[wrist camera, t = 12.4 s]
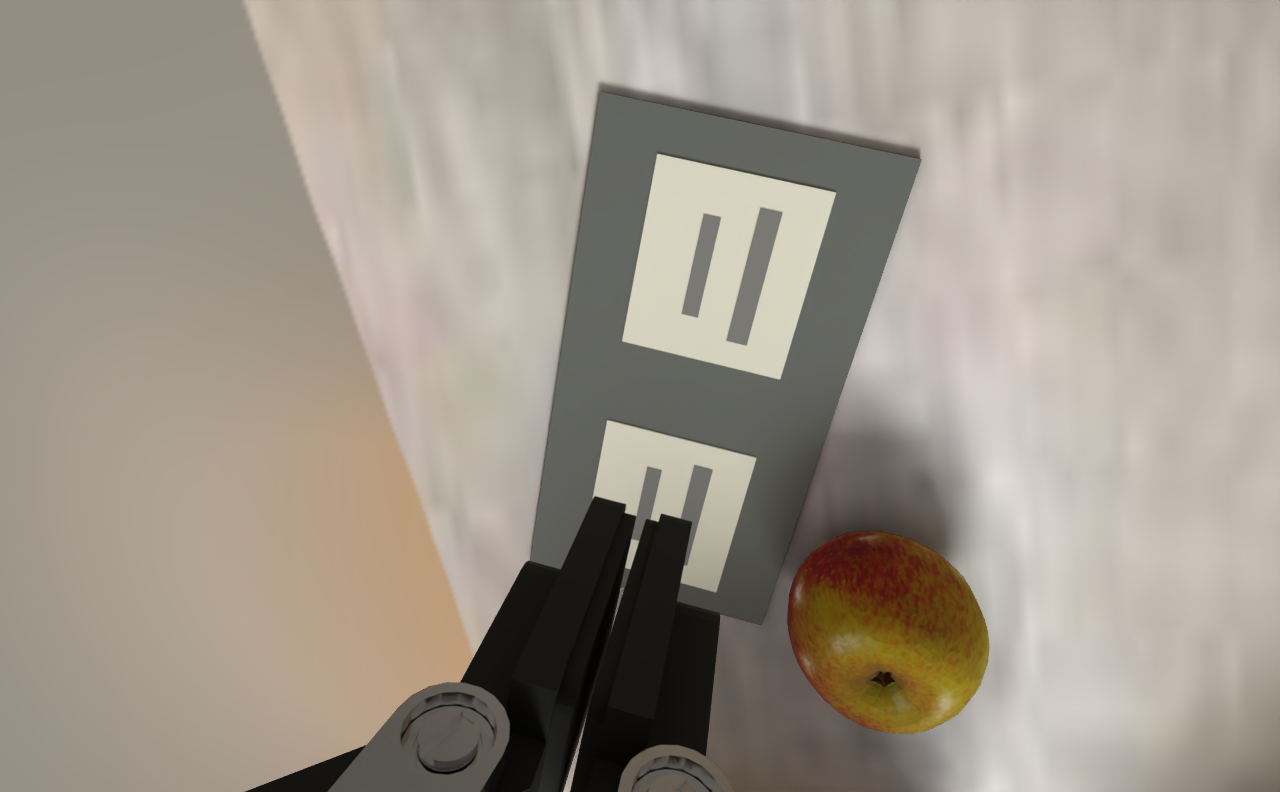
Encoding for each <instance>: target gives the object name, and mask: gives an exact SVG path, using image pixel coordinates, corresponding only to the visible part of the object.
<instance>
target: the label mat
mask: <svg viewBox="0 0 1280 792" xmlns="http://www.w3.org/2000/svg"><path fill="white" fill-rule="evenodd" d="M921 160H922V159H918V158H914V157H909V156H904V155H899V154H895V153H890V152H885V151H880V150H876V149H871V148H866V147H861V146H857V145H852V144H847V143H842V142H838V141H833V140H828V139H824V138H819V137H814V136H809V135H805V134H800V133H795V132H790V131H786V130H781V129H776V128H771V127H767V126H762V125H757V124H752V123H748V122H743V121H738V120H733V119H729V118H724V117H719V116H714V115H710V114H705V113H700V112H695V111H691V110H686V109H681V108H677V107H672V106H667V105H662V104H658V103H653V102H648V101H643V100H639V99H634V98H629V97H624V96H620V95H615V94H610V93H605V92H600V94H599V101H598V107H597V114H596V121H595V128H594V134H593V141H592V148H591V154H590V161H589V168H588V175H587V181H586V188H585V195H584V201H583V208H582V215H581V222H580V228H579V235H578V242H577V248H576V255H575V262H574V269H573V275H572V282H571V289H570V296H569V302H568V309H567V316H566V322H565V329H564V336H563V343H562V349H561V356H560V363H559V369H558V376H557V383H556V390H555V396H554V403H553V410H552V416H551V423H550V430H549V437H548V443H547V450H546V457H545V464H544V470H543V477H542V484H541V490H540V497H539V504H538V511H537V517H536V524H535V531H534V537H533V544H532V551H531V558H530V561H532V562H536V563H539V564H543V565H547V566H550V567H554V568H557V569H561V568H562V566H563V563H564V561H565V559H566V557H567V555H568V552H569V550H570V548H571V546H572V544H573V541H574V539H575V537H576V535H577V533H578V531H579V528H580V526H581V524H582V522H583V520H584V517H585V515H586V513H587V511H588V509H589V506H590V504H591V502H592V500H593V498H594V497H595V496H597V497H601V498H605V499H608V500H612V501H616V502H620V503H624V504H626V510H625V513H627V514H631V515H635V516H636V521H635V526H634V530H633V535H632V539H631V544H630V548H629V552H628V557H627V561H626V566H625V570H624V575H623V579H622V584H621V587H624V588H625V586H626V582H627V579H628V576H629V573H630V569H631V566H632V563H633V560H634V556H635V553H636V550H637V547H638V543H639V540H640V537H641V534H642V530H643V527H644V524H645V521H646V519H650V520H654V521H657V522H659V518H660V515H661V513H662V514H665V515H669V516H673V517H677V518H681V519H684V520H688V521H692V527H691V532H690V537H689V542H688V547H687V552H686V557H685V563H684V568H683V573H682V578H681V583H680V588H679V593H678V598H677V601H678V602H681V603H685V604H689V605H692V606H696V607H700V608H703V609H707V610H711V611H714V612H718V613H720V614H722V615H726V616H729V617H733V618H737V619H740V620H744V621H747V622H751V623H755V624H758V625H761V624H762V621H763V619H764V616H765V613H766V610H767V607H768V604H769V601H770V598H771V595H772V592H773V590H774V587H775V584H776V581H777V578H778V575H779V572H780V569H781V566H782V563H783V560H784V558H785V555H786V552H787V549H788V546H789V543H790V540H791V537H792V534H793V531H794V529H795V526H796V523H797V520H798V517H799V514H800V511H801V508H802V505H803V502H804V500H805V497H806V494H807V491H808V488H809V485H810V482H811V479H812V476H813V473H814V471H815V468H816V465H817V462H818V459H819V456H820V453H821V450H822V447H823V444H824V441H825V439H826V436H827V433H828V430H829V427H830V424H831V421H832V418H833V415H834V412H835V410H836V407H837V404H838V401H839V398H840V395H841V392H842V389H843V386H844V383H845V381H846V378H847V375H848V372H849V369H850V366H851V363H852V360H853V357H854V354H855V352H856V349H857V346H858V343H859V340H860V337H861V334H862V331H863V328H864V325H865V323H866V320H867V317H868V314H869V311H870V308H871V305H872V302H873V299H874V296H875V293H876V291H877V288H878V285H879V282H880V279H881V276H882V273H883V270H884V267H885V264H886V262H887V259H888V256H889V253H890V250H891V247H892V244H893V241H894V238H895V235H896V233H897V230H898V227H899V224H900V221H901V218H902V215H903V212H904V209H905V206H906V204H907V201H908V198H909V195H910V192H911V189H912V186H913V183H914V180H915V177H916V174H917V172H918V169H919V166H920V163H921Z"/></svg>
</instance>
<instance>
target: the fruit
mask: <svg viewBox="0 0 1280 792" xmlns="http://www.w3.org/2000/svg"><path fill="white" fill-rule="evenodd" d="M787 624H788V631H789V636H790V640H791V644H792V647H793V651H794V654H795V657H796V659H797V662H798V664H799V666H800V668H801V669H802V671H803V673H804V674H805V676H806V677H807V679H808V680H809V682H810V683H811V684H812V686H813V687H814V688H815V689H816V691H817V692H818V693H819V694H820V695H821V696H822V697H823V699H824V700H825V701H826V702H827V703H829V704H830V705H831V706H832V707H833V708H834V709H835V710H837V711H838V712H840V713H841V714H842V715H844V716H845V717H847V718H848V719H850V720H852V721H854V722H856V723H858V724H860V725H862V726H865V727H868V728H871V729H874V730H877V731H883V732H889V733H917V732H922V731H927V730H929V729H931V728H934V727H936V726H938V725H940V724H942V723H944V722H945V721H947V720H949V719H951V718H952V717H954V716H956V715H957V714H958V713H959V712H960V711H961V710H962V709H963V708H964V707H965V706H966V704H967V703H968V702H969V701H970V699H971V698H972V697H973V695H974V694H975V693H976V691H977V690H978V688H979V686H980V685H981V682H982V679H983V676H984V672H985V669H986V666H987V663H988V655H989V639H988V631H987V627H986V623H985V619H984V617H983V614H982V612H981V609H980V607H979V605H978V603H977V601H976V599H975V597H974V595H973V593H972V591H971V589H970V587H969V585H968V584H967V582H966V580H965V579H964V577H963V576H962V575H961V574H960V573H959V572H958V571H957V570H956V569H955V568H954V567H953V566H952V565H951V564H950V563H949V562H948V561H946V560H945V559H944V558H943V557H941V556H940V555H939V554H937V553H936V552H934V551H933V550H931V549H929V548H927V547H925V546H923V545H921V544H919V543H917V542H915V541H913V540H911V539H908V538H905V537H901V536H897V535H894V534H889V533H883V532H872V531H861V532H851V533H846V534H843V535H840V536H838V537H835V538H833V539H831V540H829V541H827V542H825V543H823V544H822V545H821V546H819V547H818V548H817V549H815V550H814V551H813V552H812V553H811V554H810V555H809V556H808V557H807V559H806V560H805V561H804V563H803V564H802V565H801V567H800V568H799V570H798V572H797V574H796V576H795V578H794V580H793V584H792V587H791V590H790V594H789V603H788V618H787Z"/></svg>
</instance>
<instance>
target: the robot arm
mask: <svg viewBox="0 0 1280 792" xmlns="http://www.w3.org/2000/svg"><path fill="white" fill-rule="evenodd" d="M625 510H626V504H624V503H620V502H616V501H612V500H608V499H605V498H601V497H597V496H595V497H594V498H593V500H592V502H591V504H590V506H589V509H588V511H587V513H586V515H585V517H584V520H583V522H582V524H581V526H580V528H579V531H578V533H577V535H576V537H575V539H574V541H573V544H572V546H571V548H570V550H569V552H568V555H567V557H566V559H565V561H564V563H563V566H562V568H561V569H557V568H554V567H550V566H547V565H543V564H539V563H536V562H532V561H527V562H526V563H525V564H524V566H523V567H522V569H521V571H520V573H519V575H518V576H517V578H516V580H515V582H514V584H513V586H512V588H511V589H510V591H509V593H508V595H507V597H506V599H505V600H504V602H503V604H502V606H501V608H500V610H499V612H498V613H497V615H496V617H495V619H494V621H493V623H492V625H491V626H490V628H489V630H488V632H487V634H486V636H485V637H484V639H483V641H482V643H481V645H480V647H479V649H478V650H477V652H476V654H475V656H474V658H473V660H472V662H471V663H470V665H469V667H468V669H467V671H466V673H465V674H464V676H463V678H462V680H461V682H460V683H451V682H450V683H449V682H447V683H442V684H438V685H433V686H429V687H427V688H425V689H423V690H421V691H419V692H417V693H415V694H413V695H412V696H411V697H409V698H408V699H407V700H406V701H405V702H404V703H403V704H402V705H400V706H399V707H398V708H397V710H396V711H395V712H394V713H393V715H392V716H391V717H390V718H389V719H388V720H387V722H386V723H385V724H384V725H383V726H382V728H381V729H380V730H379V731H378V732H377V733H376V735H375V736H374V737H373V738H372V739H371V741H370V742H369V743H368V744H367V745H365V746H363V747H360V748H358V749H355V750H352V751H350V752H347V753H344V754H342V755H339V756H337V757H334V758H332V759H329V760H326V761H324V762H321V763H318V764H316V765H314V766H311V767H308V768H305V769H303V770H300V771H298V772H295V773H293V774H290V775H287V776H285V777H282V778H279V779H277V780H274V781H271V782H269V783H266V784H264V785H261V786H259V787H256V788H253V789H251V790H248V791H245V792H563V790H564V787H565V784H566V781H567V777H568V774H569V771H570V768H571V764H572V761H573V758H574V755H575V751H576V748H577V745H578V741H579V738H580V735H581V732H582V728H583V725H584V722H585V719H586V722H585V726H584V731H583V736H582V740H581V745H580V749H579V754H578V759H577V763H576V768H575V772H574V777H573V782H572V786H571V791H570V792H735V791H734V789H733V787H732V786H731V784H730V782H729V780H728V779H727V777H726V775H725V774H724V773H723V772H722V771H721V770H720V769H719V768H718V766H717V765H716V764H715V763H714V762H713V761H712V760H710V759H709V758H707V757H706V749H707V739H708V730H709V720H710V711H711V701H712V692H713V682H714V673H715V663H716V654H717V644H718V635H719V625H720V613H718V612H714V611H711V610H707V609H703V608H700V607H696V606H692V605H689V604H685V603H681V602H678V601H677V598H678V593H679V588H680V583H681V578H682V573H683V568H684V563H685V557H686V552H687V547H688V542H689V537H690V532H691V527H692V521H688V520H684V519H681V518H677V517H673V516H669V515H665V514H662V513H661V515H660V518H659V522H657V521H654V520H650V519H646V521H645V524H644V527H643V530H642V534H641V537H640V540H639V543H638V547H637V550H636V553H635V556H634V560H633V563H632V566H631V569H630V573H629V576H628V579H627V582H626V586H625V589H624V592H623V595H622V599H621V602H620V605H619V608H618V612H617V615H616V618H615V621H614V625H613V628H612V624H613V620H614V615H615V611H616V606H617V602H618V597H619V593H620V588H621V584H622V579H623V575H624V570H625V566H626V561H627V557H628V552H629V548H630V544H631V539H632V535H633V530H634V526H635V521H636V516H635V515H631V514H627V513H625ZM611 629H612V631H611ZM610 633H611V634H610ZM587 712H588V713H587ZM586 715H587V717H586Z"/></svg>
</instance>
